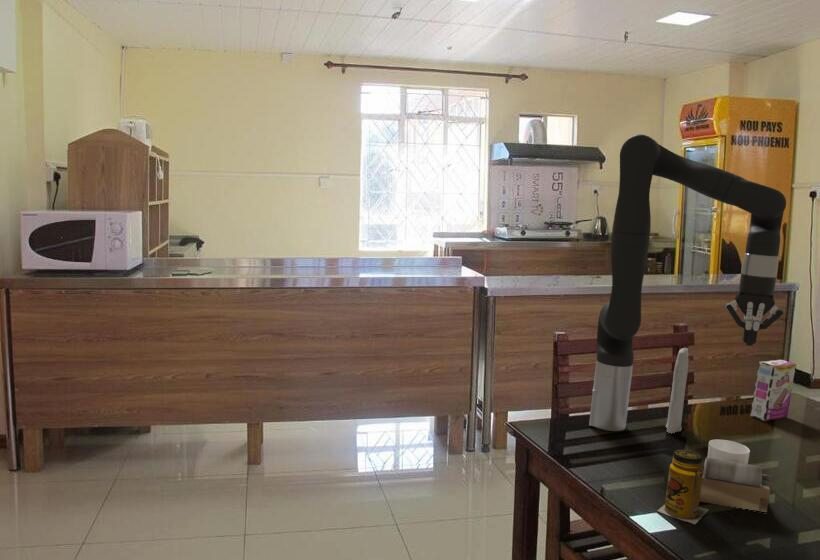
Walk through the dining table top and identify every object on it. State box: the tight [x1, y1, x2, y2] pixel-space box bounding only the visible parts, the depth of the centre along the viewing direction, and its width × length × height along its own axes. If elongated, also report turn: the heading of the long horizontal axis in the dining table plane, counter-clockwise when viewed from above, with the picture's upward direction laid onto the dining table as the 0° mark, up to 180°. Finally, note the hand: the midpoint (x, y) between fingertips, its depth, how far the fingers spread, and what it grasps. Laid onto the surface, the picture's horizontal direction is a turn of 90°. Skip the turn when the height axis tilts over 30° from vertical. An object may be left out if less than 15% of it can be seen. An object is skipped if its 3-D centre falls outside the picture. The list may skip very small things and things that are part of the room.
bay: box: [699, 457, 775, 513], centre depth 145 cm, size 18×14×9 cm
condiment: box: [656, 449, 709, 525], centre depth 134 cm, size 7×8×12 cm
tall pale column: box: [665, 347, 689, 435], centre depth 181 cm, size 11×4×22 cm, turn 148°
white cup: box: [707, 439, 751, 464], centre depth 144 cm, size 8×8×10 cm
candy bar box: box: [749, 359, 797, 422], centre depth 198 cm, size 11×5×16 cm, turn 120°
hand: (748, 344), depth 165 cm, fingers closed
